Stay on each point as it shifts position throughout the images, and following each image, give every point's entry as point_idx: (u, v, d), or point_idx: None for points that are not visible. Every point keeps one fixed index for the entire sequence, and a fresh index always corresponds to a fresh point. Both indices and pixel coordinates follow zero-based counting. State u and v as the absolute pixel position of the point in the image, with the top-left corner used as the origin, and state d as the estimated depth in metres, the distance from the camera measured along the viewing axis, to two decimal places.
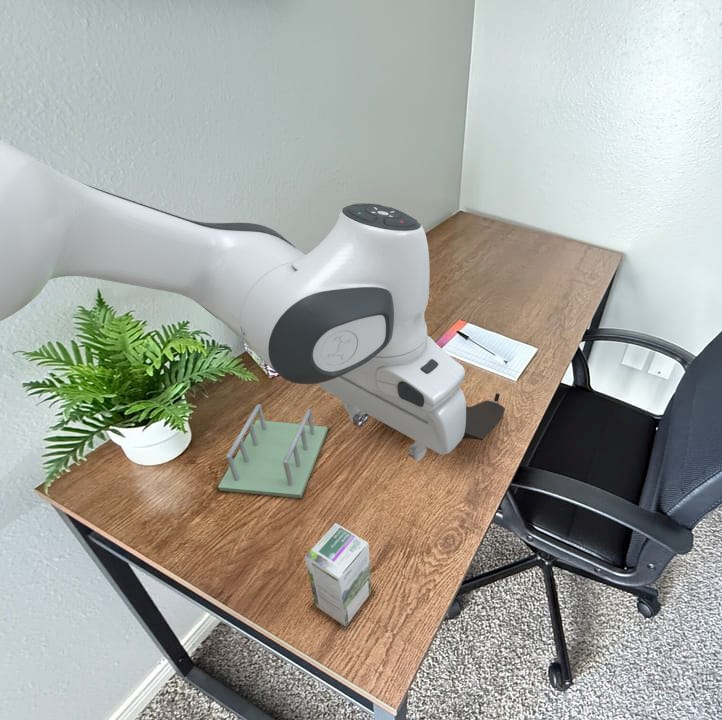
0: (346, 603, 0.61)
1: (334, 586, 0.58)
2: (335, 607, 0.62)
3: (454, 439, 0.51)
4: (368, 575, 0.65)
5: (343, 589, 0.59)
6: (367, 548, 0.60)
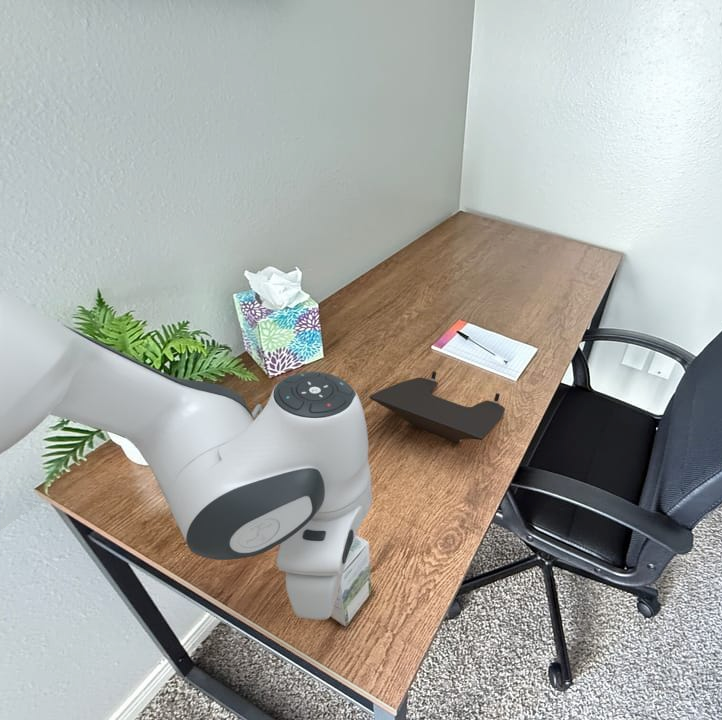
0: (346, 603, 0.61)
1: None
2: (335, 607, 0.62)
3: (305, 612, 0.49)
4: (368, 575, 0.65)
5: (343, 589, 0.59)
6: (367, 548, 0.60)
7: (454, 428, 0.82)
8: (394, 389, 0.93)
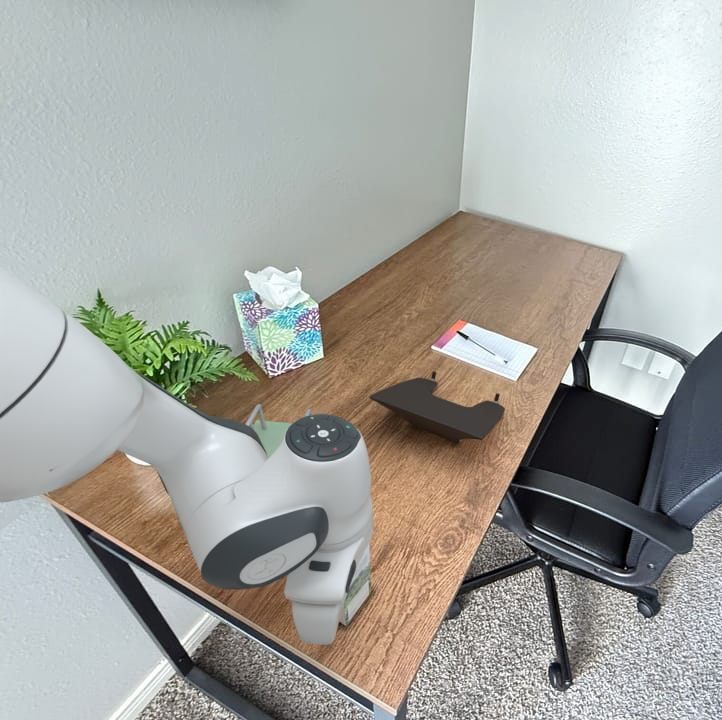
0: (346, 602, 0.61)
1: None
2: None
3: (309, 637, 0.52)
4: (368, 574, 0.65)
5: None
6: (368, 547, 0.61)
7: (454, 428, 0.82)
8: (394, 389, 0.93)
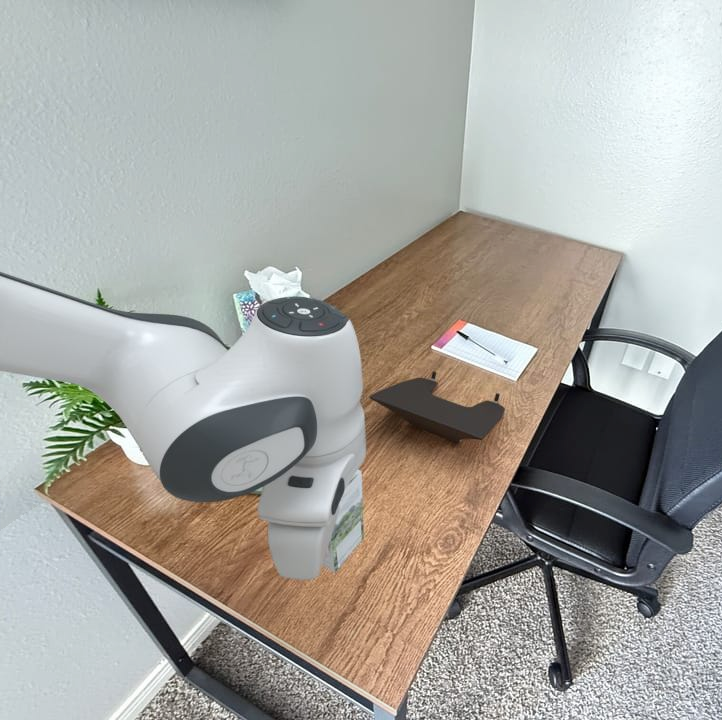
0: (335, 542, 0.53)
1: None
2: None
3: (289, 570, 0.44)
4: (361, 514, 0.57)
5: None
6: (360, 477, 0.53)
7: (454, 428, 0.82)
8: (394, 389, 0.93)
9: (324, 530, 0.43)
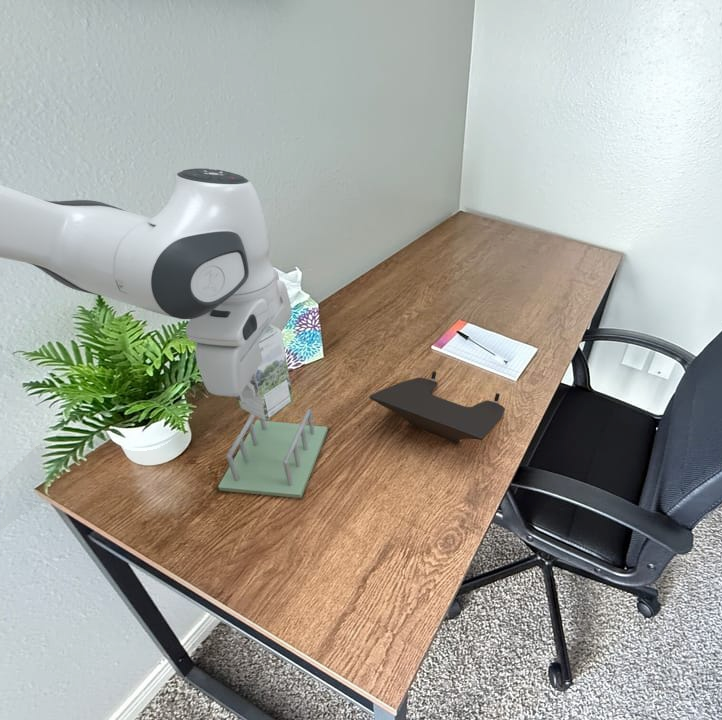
0: (262, 389, 0.67)
1: None
2: None
3: (214, 385, 0.57)
4: (286, 373, 0.70)
5: None
6: (280, 335, 0.66)
7: (454, 428, 0.82)
8: (394, 389, 0.93)
9: (239, 351, 0.56)
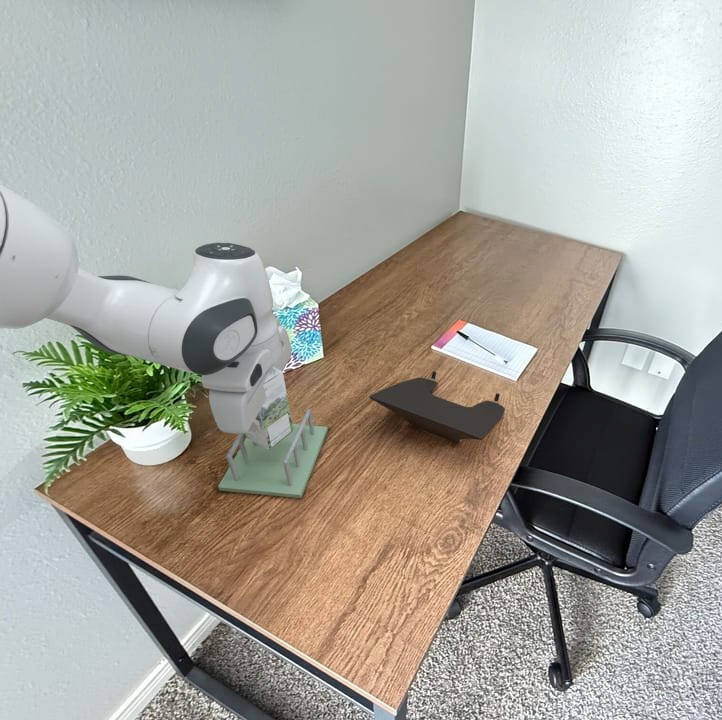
0: (266, 423, 0.76)
1: None
2: None
3: (225, 425, 0.66)
4: (287, 407, 0.79)
5: None
6: (282, 376, 0.75)
7: (454, 428, 0.82)
8: (394, 389, 0.93)
9: (246, 396, 0.65)
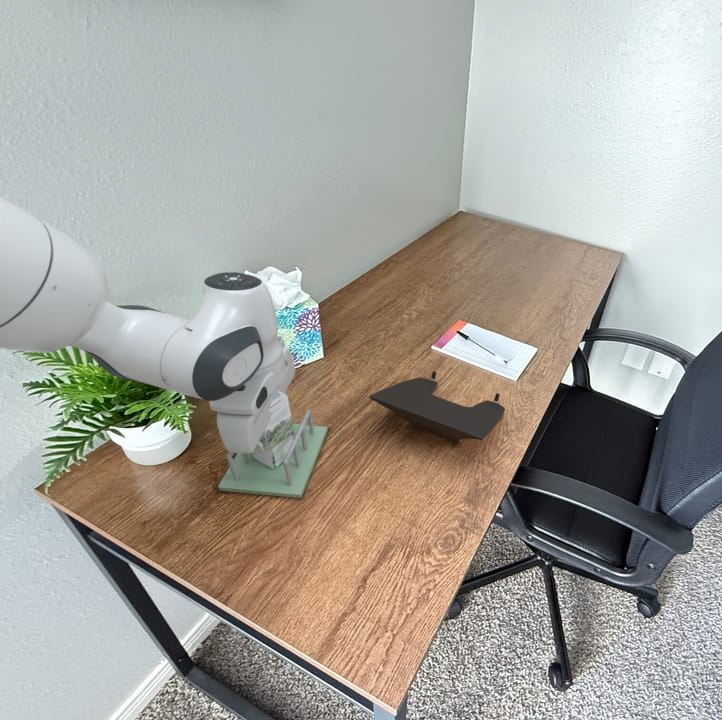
0: (271, 444, 0.79)
1: None
2: (263, 450, 0.80)
3: (232, 445, 0.69)
4: (291, 429, 0.82)
5: (266, 428, 0.76)
6: (286, 400, 0.78)
7: (454, 428, 0.82)
8: (394, 389, 0.93)
9: (252, 418, 0.68)
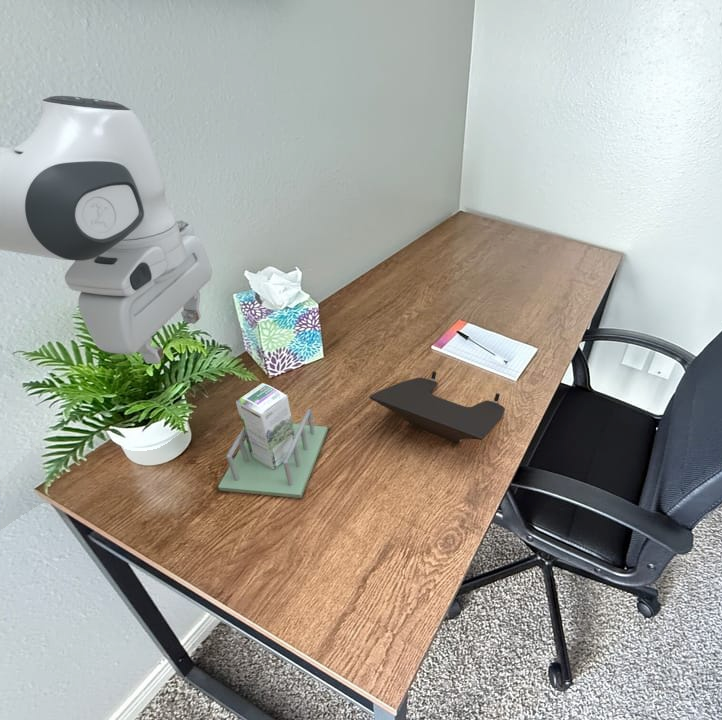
0: (271, 444, 0.79)
1: (259, 425, 0.76)
2: (263, 450, 0.80)
3: (103, 340, 0.52)
4: (291, 429, 0.82)
5: (266, 428, 0.76)
6: (286, 400, 0.78)
7: (454, 428, 0.82)
8: (394, 389, 0.93)
9: (127, 302, 0.51)
